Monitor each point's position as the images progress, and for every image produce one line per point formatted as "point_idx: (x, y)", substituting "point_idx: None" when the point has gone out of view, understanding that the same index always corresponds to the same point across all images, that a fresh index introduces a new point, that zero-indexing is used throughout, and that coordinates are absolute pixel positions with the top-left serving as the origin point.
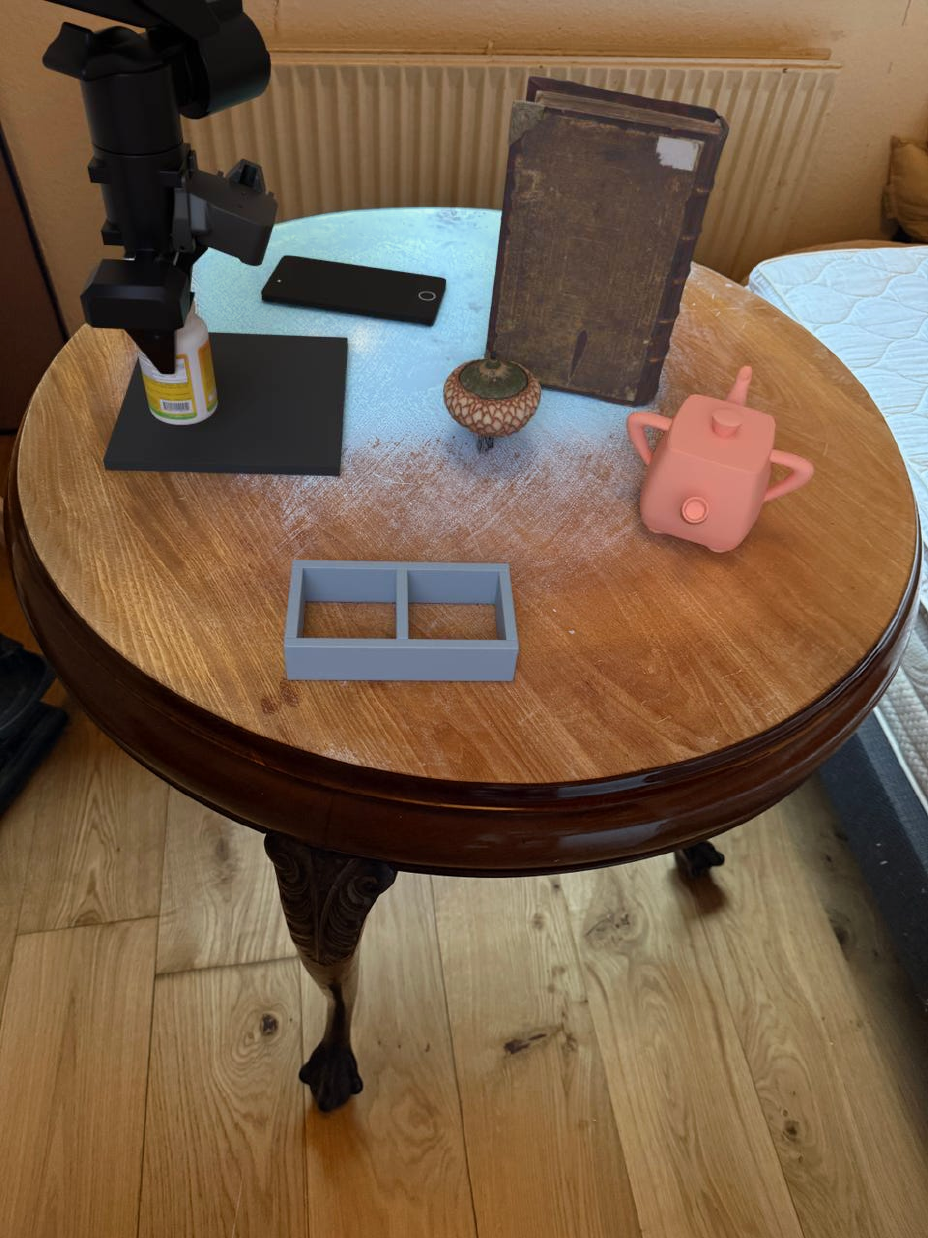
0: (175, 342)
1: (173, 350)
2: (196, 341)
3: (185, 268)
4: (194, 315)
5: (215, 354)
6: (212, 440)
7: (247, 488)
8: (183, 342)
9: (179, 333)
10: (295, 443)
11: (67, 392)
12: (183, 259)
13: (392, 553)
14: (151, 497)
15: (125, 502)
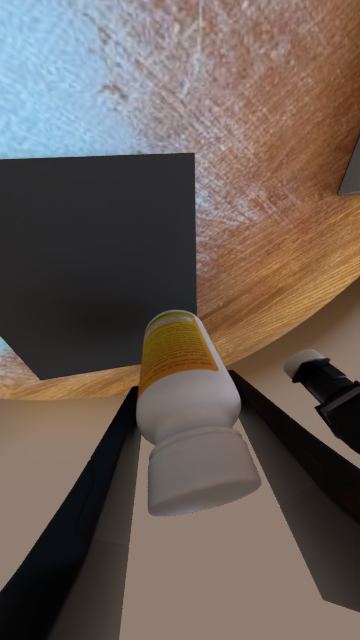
0: (274, 412)
1: (272, 402)
2: (224, 384)
3: (91, 554)
4: (166, 415)
5: (42, 330)
6: (168, 301)
7: (211, 262)
8: (236, 397)
9: (229, 412)
10: (160, 222)
11: (128, 386)
12: (78, 615)
13: (328, 56)
14: (219, 321)
15: (222, 332)
